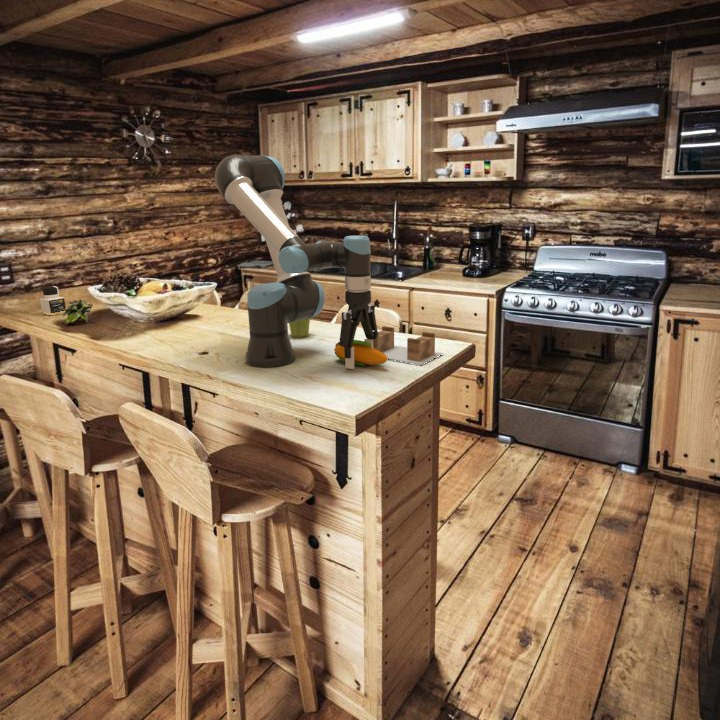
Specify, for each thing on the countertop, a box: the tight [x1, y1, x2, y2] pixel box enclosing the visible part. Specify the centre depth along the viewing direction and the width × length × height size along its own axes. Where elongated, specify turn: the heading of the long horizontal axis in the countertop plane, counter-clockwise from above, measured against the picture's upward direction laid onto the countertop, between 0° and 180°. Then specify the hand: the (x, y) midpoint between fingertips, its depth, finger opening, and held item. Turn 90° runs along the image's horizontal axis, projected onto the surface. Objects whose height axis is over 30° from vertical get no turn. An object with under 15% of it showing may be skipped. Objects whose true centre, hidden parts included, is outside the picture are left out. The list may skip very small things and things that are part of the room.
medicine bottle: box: [39, 285, 67, 313], centre depth 262 cm, size 7×7×12 cm
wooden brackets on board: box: [373, 325, 436, 361], centre depth 191 cm, size 10×19×7 cm, turn 55°
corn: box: [334, 339, 388, 367], centre depth 182 cm, size 7×8×20 cm
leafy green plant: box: [61, 299, 94, 325], centre depth 244 cm, size 11×11×12 cm
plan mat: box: [382, 344, 444, 366], centre depth 192 cm, size 14×23×1 cm, turn 55°
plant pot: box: [288, 318, 311, 339], centre depth 217 cm, size 9×9×9 cm
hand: (359, 364), depth 182 cm, fingers open, 9 cm apart
